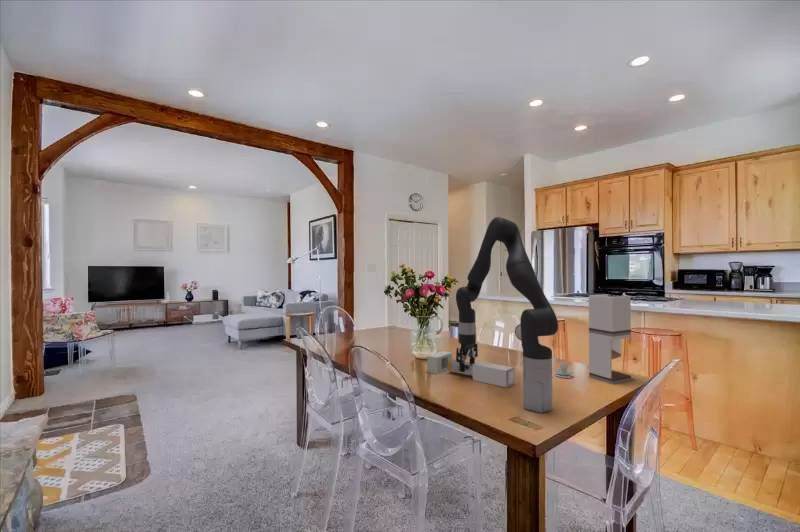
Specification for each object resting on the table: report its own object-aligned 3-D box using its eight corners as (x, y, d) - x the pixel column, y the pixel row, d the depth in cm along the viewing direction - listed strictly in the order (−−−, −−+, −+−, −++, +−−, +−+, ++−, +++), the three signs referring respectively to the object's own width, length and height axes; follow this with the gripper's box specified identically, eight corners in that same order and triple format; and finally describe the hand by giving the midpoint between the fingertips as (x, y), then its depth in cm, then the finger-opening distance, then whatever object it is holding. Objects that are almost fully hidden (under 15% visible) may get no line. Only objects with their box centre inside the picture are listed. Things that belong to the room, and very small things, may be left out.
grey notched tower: (612, 384, 146) (612, 297, 146) (589, 377, 156) (588, 295, 156) (630, 380, 151) (630, 296, 151) (606, 373, 161) (606, 294, 161)
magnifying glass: (533, 365, 174) (533, 323, 174) (533, 366, 172) (532, 324, 172) (515, 363, 178) (515, 322, 178) (514, 364, 177) (514, 322, 177)
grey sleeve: (507, 387, 143) (507, 371, 143) (472, 379, 153) (472, 364, 153) (514, 383, 148) (514, 367, 148) (479, 376, 158) (479, 361, 158)
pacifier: (571, 380, 153) (574, 376, 158) (571, 365, 152) (574, 361, 157) (553, 377, 157) (556, 373, 162) (553, 362, 157) (555, 359, 162)
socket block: (437, 374, 161) (437, 357, 161) (427, 371, 165) (427, 355, 165) (452, 368, 170) (452, 352, 170) (442, 366, 174) (442, 351, 174)
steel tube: (502, 382, 145) (502, 371, 145) (447, 370, 162) (447, 360, 162) (506, 379, 149) (506, 369, 149) (452, 368, 166) (452, 359, 166)
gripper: (466, 335, 150) (466, 375, 151) (482, 331, 161) (483, 367, 161) (450, 333, 155) (450, 371, 155) (467, 329, 166) (468, 364, 166)
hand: (467, 369), depth 158 cm, fingers open, 8 cm apart
